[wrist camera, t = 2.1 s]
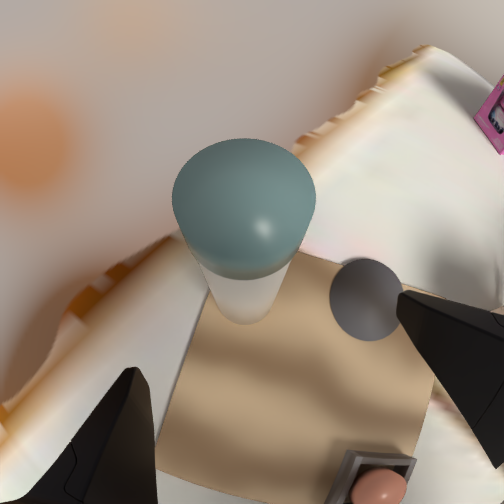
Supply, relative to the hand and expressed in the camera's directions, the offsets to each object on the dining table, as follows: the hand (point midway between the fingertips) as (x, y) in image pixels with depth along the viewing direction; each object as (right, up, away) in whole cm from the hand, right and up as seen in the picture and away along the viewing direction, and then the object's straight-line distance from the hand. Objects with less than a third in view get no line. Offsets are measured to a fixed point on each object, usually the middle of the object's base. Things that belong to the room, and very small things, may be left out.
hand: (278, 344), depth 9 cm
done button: (+8, -14, +5) cm, 16 cm away
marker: (-1, 0, +12) cm, 12 cm away
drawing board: (+4, -7, +9) cm, 12 cm away
